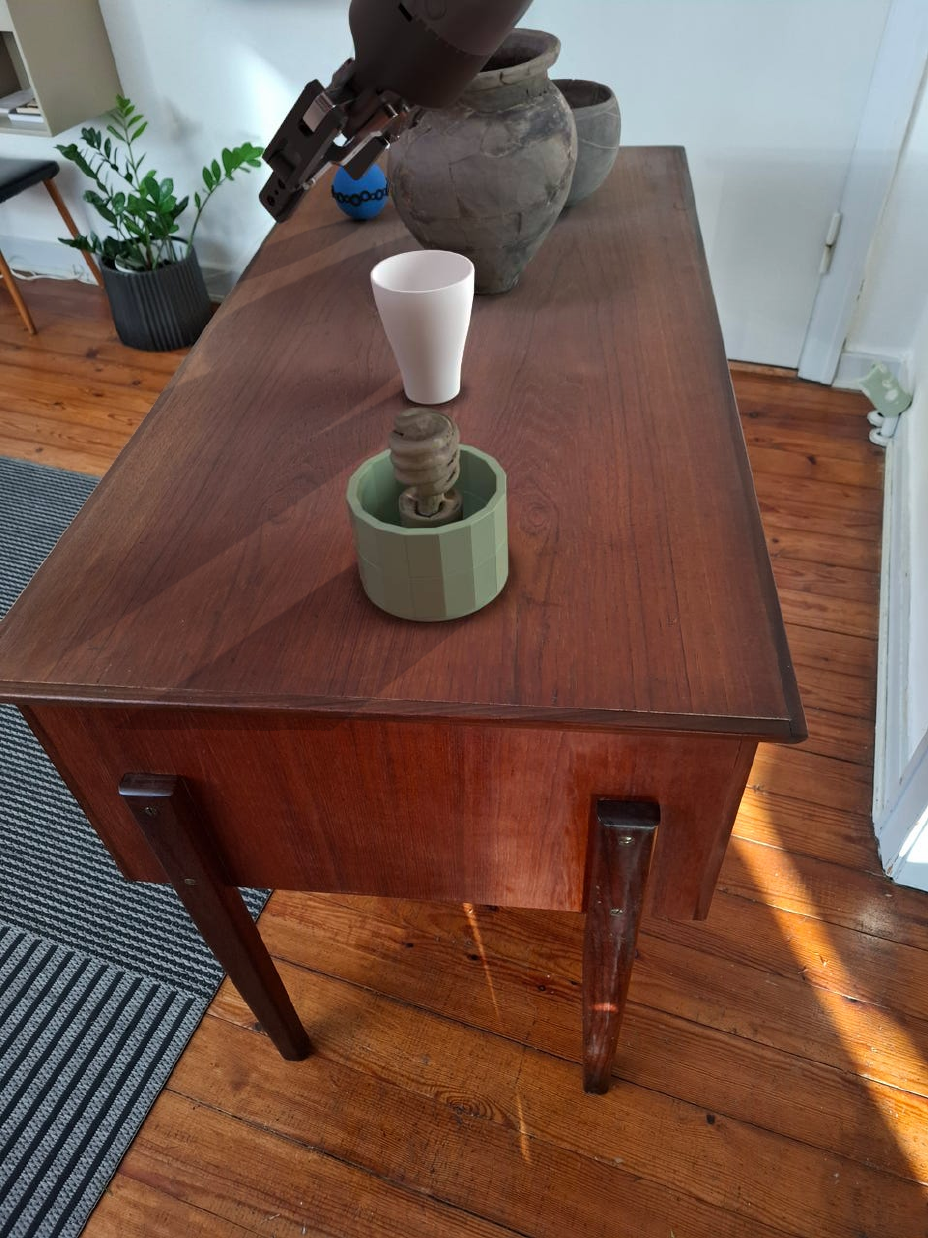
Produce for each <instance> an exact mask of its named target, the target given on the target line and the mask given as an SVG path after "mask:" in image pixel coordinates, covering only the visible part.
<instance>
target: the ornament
mask: <svg viewBox="0 0 928 1238" xmlns="http://www.w3.org/2000/svg"><path fill="white" fill-rule="evenodd" d="M330 192H331V197H332V199H334V200H335V202H336V204H337V206H338V208H339V209H340V210H341V211H342V212H343V213H344V214H345V215H347V216H349V217H350V218H352V219H355V220H360V221H365V220H369V219H372V218H373V217H375V216H377V215H378V214H379V213H380V212H381V211H382V209H383V208H384V207H385V205H386V203H387V199H388V197H389V196H390V189H389V184H388V178H387V177H386V176H385V174H384V172H383V171H382V169H381V168H380V167H379V166H378V165H377V164H376V163H374V164H373V166H372V167H371V169H370V170H369V171H368V173H367V174H366V175H365V176H364V177H363V178H361V179H359V180H357V181H355V180H353V179H352V178H351V177H350V176H349V175H348V173H347V172H346V171H345V170H344V168H343V167H342V166H339V168H338V169H337V170H336V172H335V175H334V178H333V182H332V184H331V186H330Z"/></svg>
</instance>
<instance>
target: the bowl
mask: <svg viewBox="0 0 928 1238" xmlns="http://www.w3.org/2000/svg"><path fill="white" fill-rule="evenodd" d="M550 80H551V81H552V82H553V83H554V85H555V86H556V87H557V88H558V89H559V90H560V92H561V93H562V94H563V96H564V98H565V100H566V101H567V103H568V105H569V107H570V109H571V111H572V114H573V117H574V121H575V125H576V131H577V140H578V153H577V161H576V166H575V169H574V172H573V177H572V182H571V187H570V191H569V194H568V197H567V199H566V202H565V204H564V206H563V208H568V207H570V206H573V205H575V204H577V203H579V202H581V201H583V200H585V199H587V198H588V197H589V196H590V195H591V194H593V193H594V192H595V191H596V190H597V189H598V188H600V186H601V185H602V183H604V181H605V180H606V178H607V177H608V175H610V172H611V170H612V168H613V166H614V164H615V162H616V159H617V156H618V153H619V150H620V149H619V148H620V144H621V136H622V135H621V134H622V116H621V110H620V105H619V101H618V99H617V96H616V94H615V92H614V91H613V89H612V88H611V87H609V86H608V85H607V84H603V83H599V82H597V81H595V80H589V79H588V80H587V79H577V78H575V79H573V78H553V79H550ZM563 208H562V209H563Z"/></svg>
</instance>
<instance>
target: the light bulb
mask: <svg viewBox="0 0 928 1238" xmlns="http://www.w3.org/2000/svg"><path fill="white" fill-rule="evenodd" d="M393 424H394V426H395V429H393V430H392V432H390V434H389V435H388V439H387V446H388V449H391V452H390V461H391V463H392V464H393V465H394V468H393V474H394V476H395V478H396V479H397V480H398V481H399V482H400V483H402V484H404V485H408V486H410V487H408V488H407V489H406V490H405V491H404V492H403V493H402V494H401V496H400V497H399V514H400V520H401V524H402V527H403V528H408V529H414V528H437V527H441V526H445V525H448V524H452V523H455V522H459V521H463V499H462V495H461V493H460V492H459V491H458V489H456V488H455V487H454V486H453V485H454V483H455V482H456V480H457V478H458V476H459V470H460V467H459V462H458V461H459V456H460V449H459V444H460V438H461V435H460V431H459V428H458V425H457V424H456V422H455V421H454V419H453V418H452V417H451V416H449V415H448V414H446V413H444V412H442V411H440V410H437V409H433V408H429V407H410V408H406V409H403V410H400V411H399V412H397V413H396V414H395V416H394V420H393Z"/></svg>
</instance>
